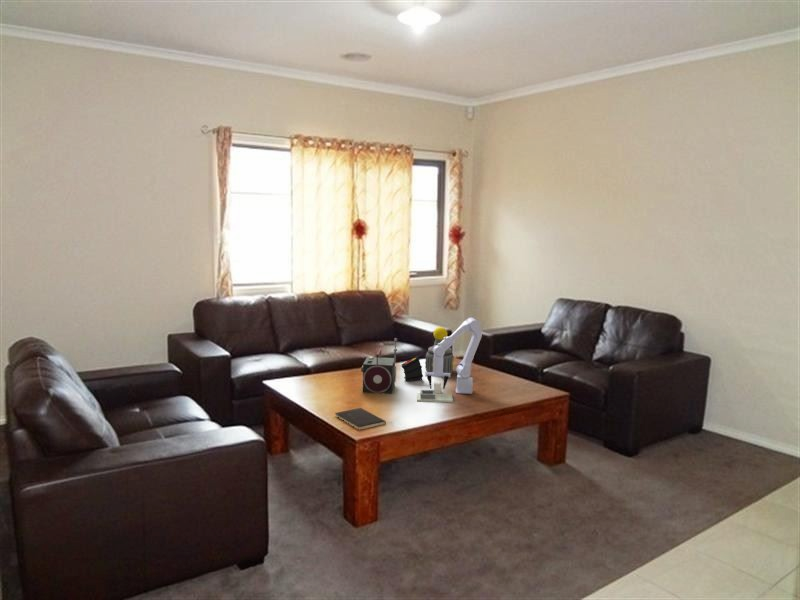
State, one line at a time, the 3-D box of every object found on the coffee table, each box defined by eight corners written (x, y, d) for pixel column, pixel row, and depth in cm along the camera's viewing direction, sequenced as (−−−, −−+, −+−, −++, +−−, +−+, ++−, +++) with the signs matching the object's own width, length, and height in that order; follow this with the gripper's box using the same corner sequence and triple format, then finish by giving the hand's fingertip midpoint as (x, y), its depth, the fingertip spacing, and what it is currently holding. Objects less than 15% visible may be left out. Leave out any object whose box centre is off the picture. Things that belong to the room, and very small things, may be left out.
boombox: (364, 383, 362) (365, 335, 358) (398, 385, 361) (399, 337, 356) (360, 392, 344) (360, 342, 340) (395, 394, 343) (396, 343, 338)
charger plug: (440, 391, 350) (440, 381, 349) (440, 393, 346) (441, 383, 345) (433, 391, 350) (434, 381, 349) (434, 393, 346) (434, 383, 345)
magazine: (427, 377, 372) (418, 357, 368) (409, 388, 369) (400, 367, 365) (425, 376, 376) (416, 355, 371) (407, 386, 372) (398, 366, 368)
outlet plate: (451, 395, 343) (451, 389, 342) (452, 402, 331) (453, 396, 330) (416, 394, 343) (417, 388, 343) (416, 401, 331) (417, 395, 331)
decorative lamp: (448, 376, 381) (450, 331, 377) (421, 373, 388) (422, 328, 383) (456, 369, 399) (458, 325, 394) (430, 366, 405) (431, 323, 401)
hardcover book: (358, 431, 286) (358, 426, 286) (334, 417, 305) (335, 412, 305) (385, 424, 296) (385, 420, 295) (361, 411, 314) (361, 407, 314)
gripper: (450, 364, 349) (449, 386, 351) (425, 363, 349) (424, 386, 351) (450, 367, 342) (450, 390, 344) (425, 366, 342) (425, 389, 345)
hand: (437, 388), depth 347 cm, fingers open, 7 cm apart
